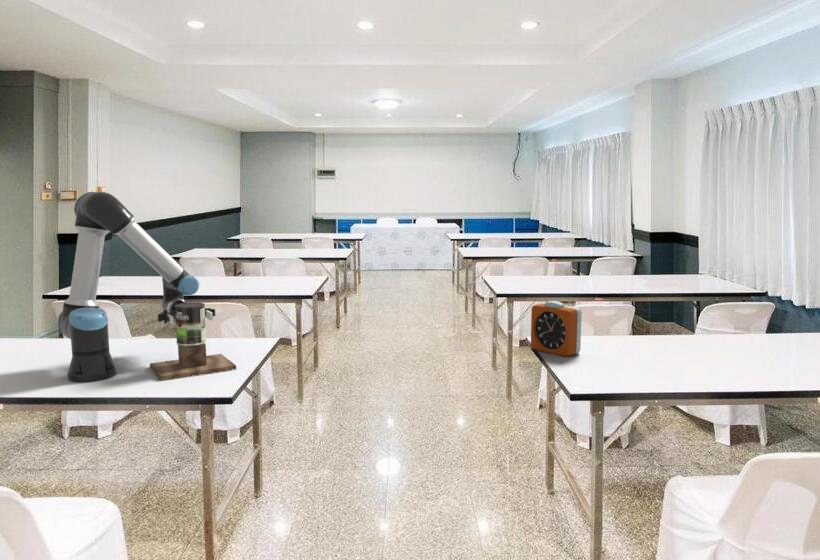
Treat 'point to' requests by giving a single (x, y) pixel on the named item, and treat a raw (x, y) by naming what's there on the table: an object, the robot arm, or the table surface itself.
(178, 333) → the lidded glass jar
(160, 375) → the plinth
